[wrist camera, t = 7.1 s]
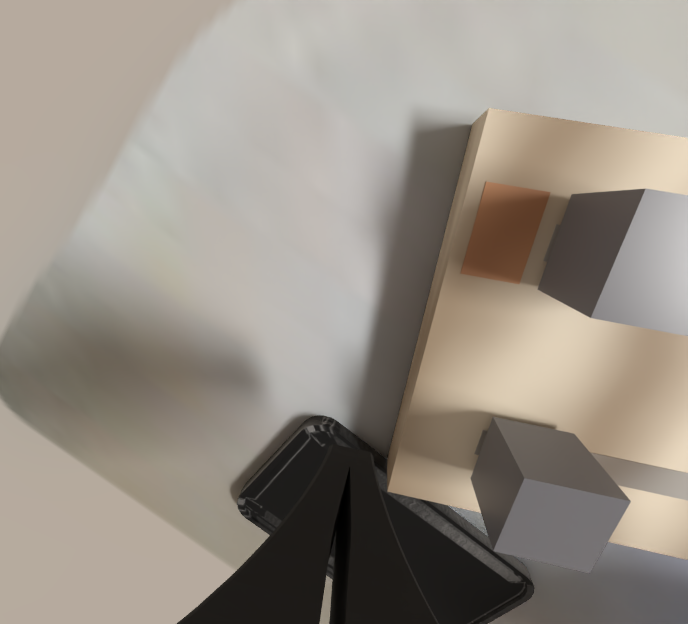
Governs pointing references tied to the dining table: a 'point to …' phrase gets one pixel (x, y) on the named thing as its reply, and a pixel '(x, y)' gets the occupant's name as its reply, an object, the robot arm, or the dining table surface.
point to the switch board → (544, 329)
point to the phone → (398, 530)
